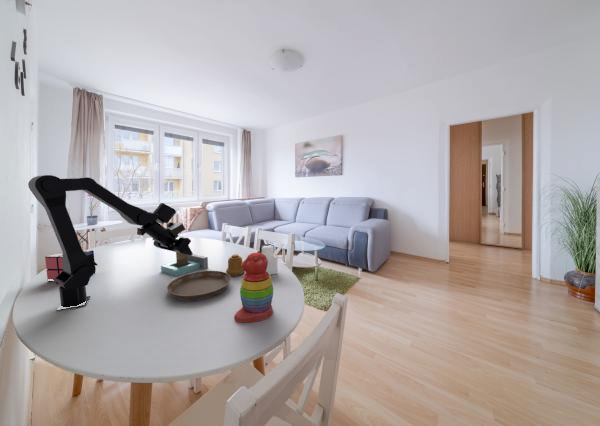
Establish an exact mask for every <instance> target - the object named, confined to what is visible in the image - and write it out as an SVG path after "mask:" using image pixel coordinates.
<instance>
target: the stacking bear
mask: <svg viewBox="0 0 600 426" xmlns="http://www.w3.org/2000/svg"><path fill="white" fill-rule="evenodd" d="M267 265H268V260H267V257H266V256H265V255H264V254H262V253H261V252H260V250H257V252H252V253H249V254H248V255H247V256H246V258H245V260H242V264H241V266H242V269H243V270H244V273H243V276H242V280H241V285H240V288H239V289H240V291H239V293H240V294H239V295H240V301H241V306H242V307H241V308H240V309H239V310H238V311H236V312H235V314H234V321H235V322H238V323H255V322H261V321H262V320H263V321H264V320H266V319H267V318H270V317H271V315H272V314H273V312H274V309H273V305H272V303H273V298H274V285H273V279H272V277H271V275H269V274H268V272H267V271H266V269H267Z"/></svg>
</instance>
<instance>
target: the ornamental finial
mask: <svg viewBox="0 0 600 426" xmlns="http://www.w3.org/2000/svg"><path fill="white" fill-rule="evenodd" d="M242 262H243V257H242V256H241V255H239V254H236V253H235V254H232V255H231V256H229V258H228V260H227V268H226V270H225V273H227V274H229V275H230V277H238V276H242V275H244V274H245V271H244V270H243V269H242V266H241V264H242Z"/></svg>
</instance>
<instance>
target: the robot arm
mask: <svg viewBox="0 0 600 426" xmlns="http://www.w3.org/2000/svg"><path fill="white" fill-rule="evenodd" d="M27 184H28V188H29V189H28V190H30V192H31V193H32V195H33V196H34V197H35V198H36V200H37V201H38V202H39V204H41V206H42V207H43V208H44V210H45V212H46V215H47V217H48V219H49V222H50V224H51V227H52V229H53V233H54V235H55V237H56V239H57V241H58V245H59V247H60V249H61V253H62V252H63V258H62V264H63V271H62V272H61V273H60V274H59V275H58V276H57V277H56V278H55V279H54V281H55V282H54V283H55V284H56V285H58V286H59V287H58V289H59V290H58V291H59V298H60V299H59V300H60V304H61V306H63V307H70V306H77V305H79V304H81V303H83V302H85V301H86V303H87V301H88V300H89V301H90V299H91V298H90V297H91V295H88V296H87V287H86V286H89V285H88V284H89V282H90V279H91V278H92V276H94V274H95V273H94V272H96V271H97V267H96V266H98V263H96V262H95V261H96V260H95V254H94V255H93V254H92V253H90V252H87V251H83V250H84V249H83V248H82V245H81V243H80V241H79V240H80V239H79V238H78V234H77V232H76V230H75V227H74V225H73V221H72V219H71V217H70V213H69V212H68V207H67V192H75V191H83V192H85V193H87V194H88V195H90V196H91V197H93V198H95V199H96V200H98V201H100V202H101V203H103V204H105V205H107V206H108V207H110V208H111V209H113V210H114V211H116V212H117V213H118V214H119V215H120V216H121V218H123V220H124V221H126V222H127V223H128V224H130V225H133V226H135V225H136V226H140V227H137V228H136V230H137V232H136V234H137V235H138V236H144V235H145V234H146V235H148V236H149V237H151V238H152V241H153V246H155V247H156V248H158V249H161V250H166V251H171V252H175V253H176V252H178V253H182V254H187V255H192V254H194V253H193V251H192V249H191V248H190V246H189V245H190V243H191V242H192V239H191V238H189V237H186V236H180V237H179V234H181V233H182V232H183V231H186V227H185V225H184V224H183V222H177V221H176V222H172V221H171V220H172V218H173V217H174V216H175V215H176V214H177V210H176V209H175V208H173V207H172V206H169V205H167V204H166V203H164V202H160V203H159V205H158V207H156V208H155V210H153V211H152V212H150V211H147V210H145V209H143V208H141V207H139V206H136V205H134V204H132V203H131V204H130V203H129V202H127V201H125V200H124V199H123V198H121V197H119V196H117V195H116V194H115V193H113V192H112V191H110V190H109V189H107V188H106V187H104V186H103V185H101V184H100V183H98V182H97V181H96V180H95V179H94V178H92V177H79V178H75V177H72V178H60V177H57V176H55V175H52V174H47V175H45V174H43V175H38V176H37V175H36V176H33V177H32V178H31V179H30V180H29V181H28V183H27ZM170 221H171V222H170ZM164 224H166V227H164V226H163V225H164ZM178 237H179V238H178ZM177 238H178V239H177ZM89 298H90V299H89ZM89 301H88V302H89ZM86 303H85V304H86ZM87 304H88V303H87ZM87 304H86V305H87Z"/></svg>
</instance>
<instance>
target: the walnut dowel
mask: <svg viewBox="0 0 600 426" xmlns="http://www.w3.org/2000/svg"><path fill="white" fill-rule="evenodd" d="M175 253H176V254H175V257H176V258H175V259H176V261H177V268H179V267H182V266H186V265H188V255H187V254H182V253H178V252H175Z"/></svg>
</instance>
